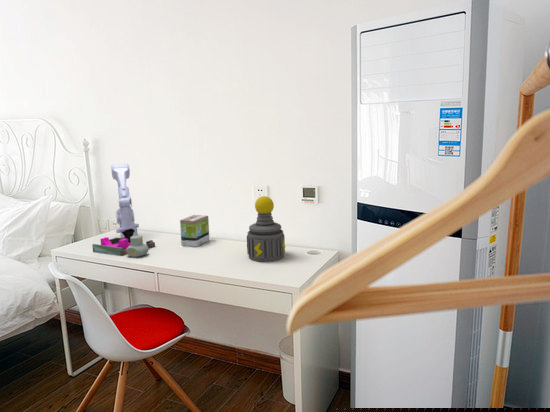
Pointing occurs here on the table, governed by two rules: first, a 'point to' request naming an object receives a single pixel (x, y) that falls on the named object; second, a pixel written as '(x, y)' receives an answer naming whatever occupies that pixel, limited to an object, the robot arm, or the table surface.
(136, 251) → the air freshener
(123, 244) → the toy block
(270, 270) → the table surface
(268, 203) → the decorative lamp
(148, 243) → the trap channel
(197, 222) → the tea box
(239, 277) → the table surface
